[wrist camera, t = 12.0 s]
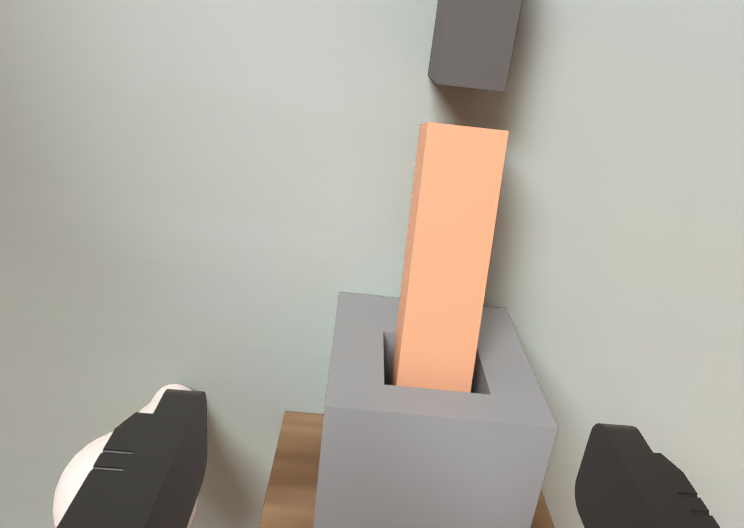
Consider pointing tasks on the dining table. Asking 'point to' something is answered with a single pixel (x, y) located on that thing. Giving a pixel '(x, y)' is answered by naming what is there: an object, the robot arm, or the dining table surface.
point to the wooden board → (313, 476)
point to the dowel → (447, 255)
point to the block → (429, 432)
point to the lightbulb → (87, 458)
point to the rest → (473, 43)
